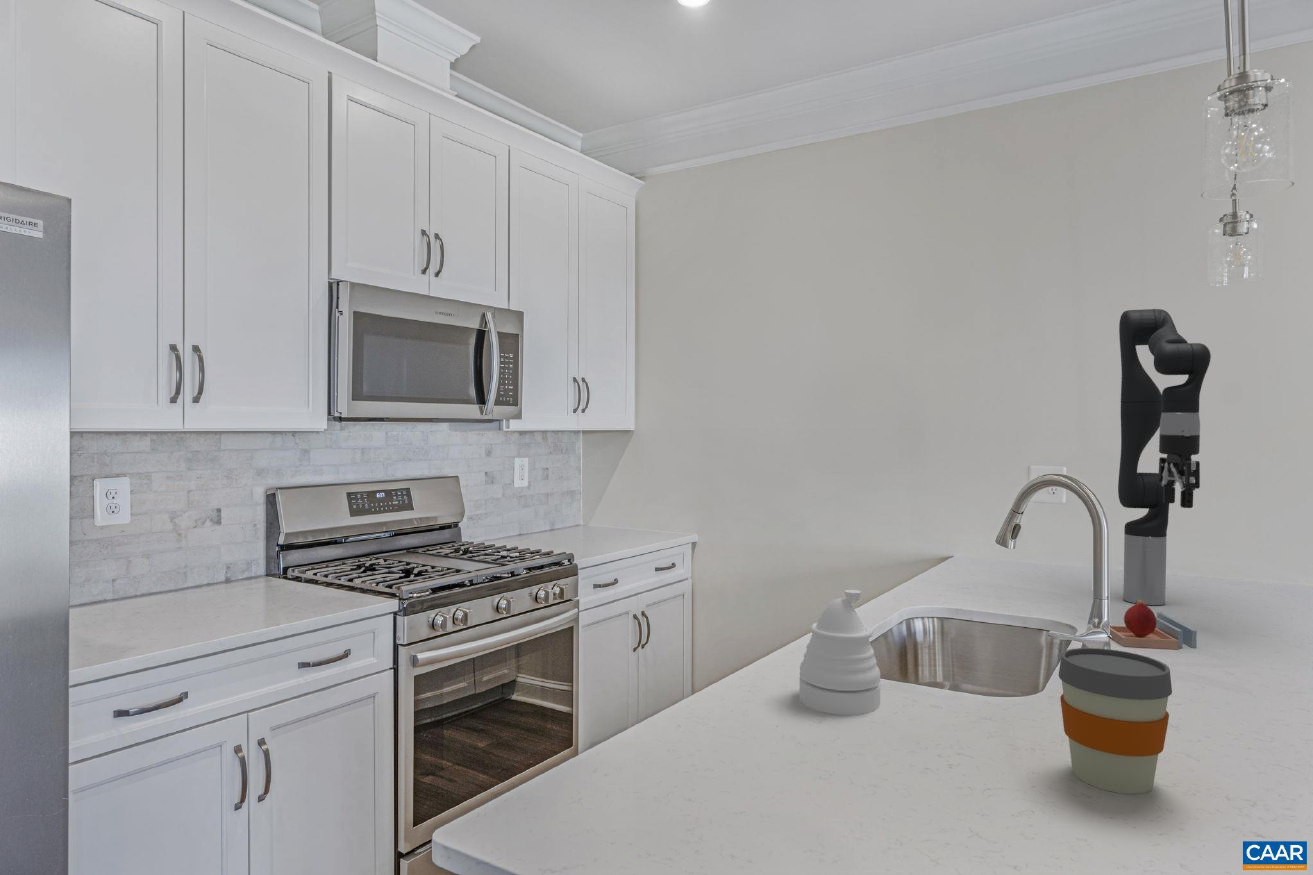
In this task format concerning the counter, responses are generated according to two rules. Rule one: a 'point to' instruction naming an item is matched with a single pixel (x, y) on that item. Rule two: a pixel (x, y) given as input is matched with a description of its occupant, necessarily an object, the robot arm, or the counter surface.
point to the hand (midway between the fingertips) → (1177, 505)
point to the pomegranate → (1140, 620)
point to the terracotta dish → (1143, 639)
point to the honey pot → (840, 662)
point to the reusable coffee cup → (1114, 716)
